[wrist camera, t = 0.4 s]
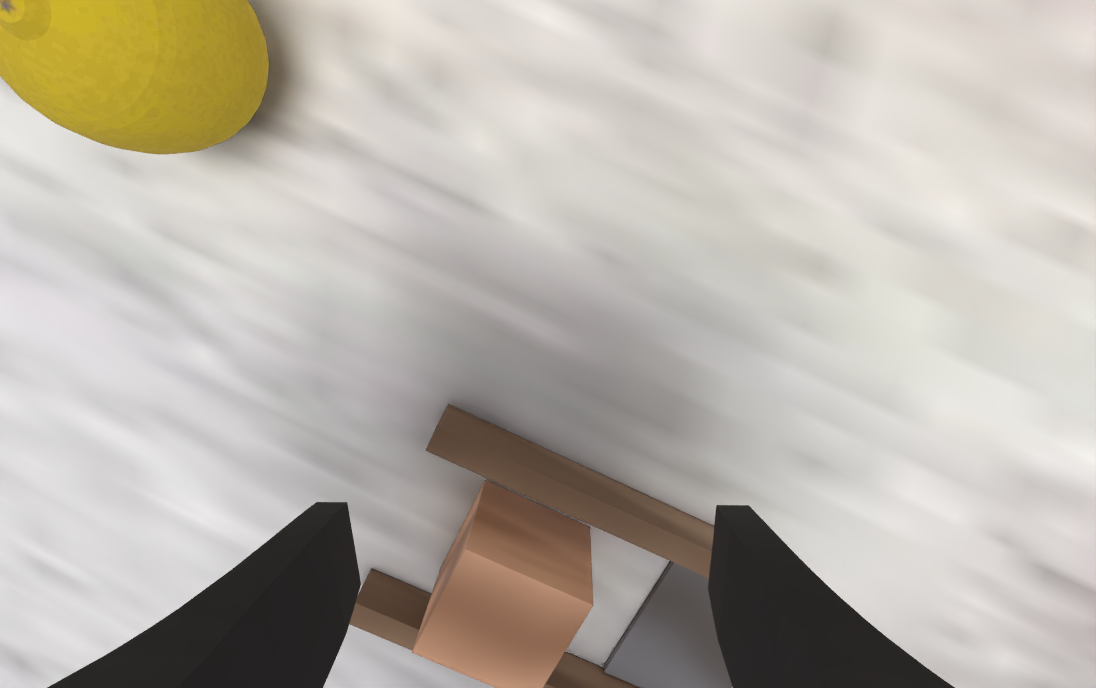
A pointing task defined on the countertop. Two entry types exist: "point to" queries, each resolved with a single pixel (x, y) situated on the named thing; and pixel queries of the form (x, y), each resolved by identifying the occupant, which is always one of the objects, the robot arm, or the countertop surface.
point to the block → (509, 592)
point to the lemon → (137, 68)
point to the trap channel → (682, 591)
